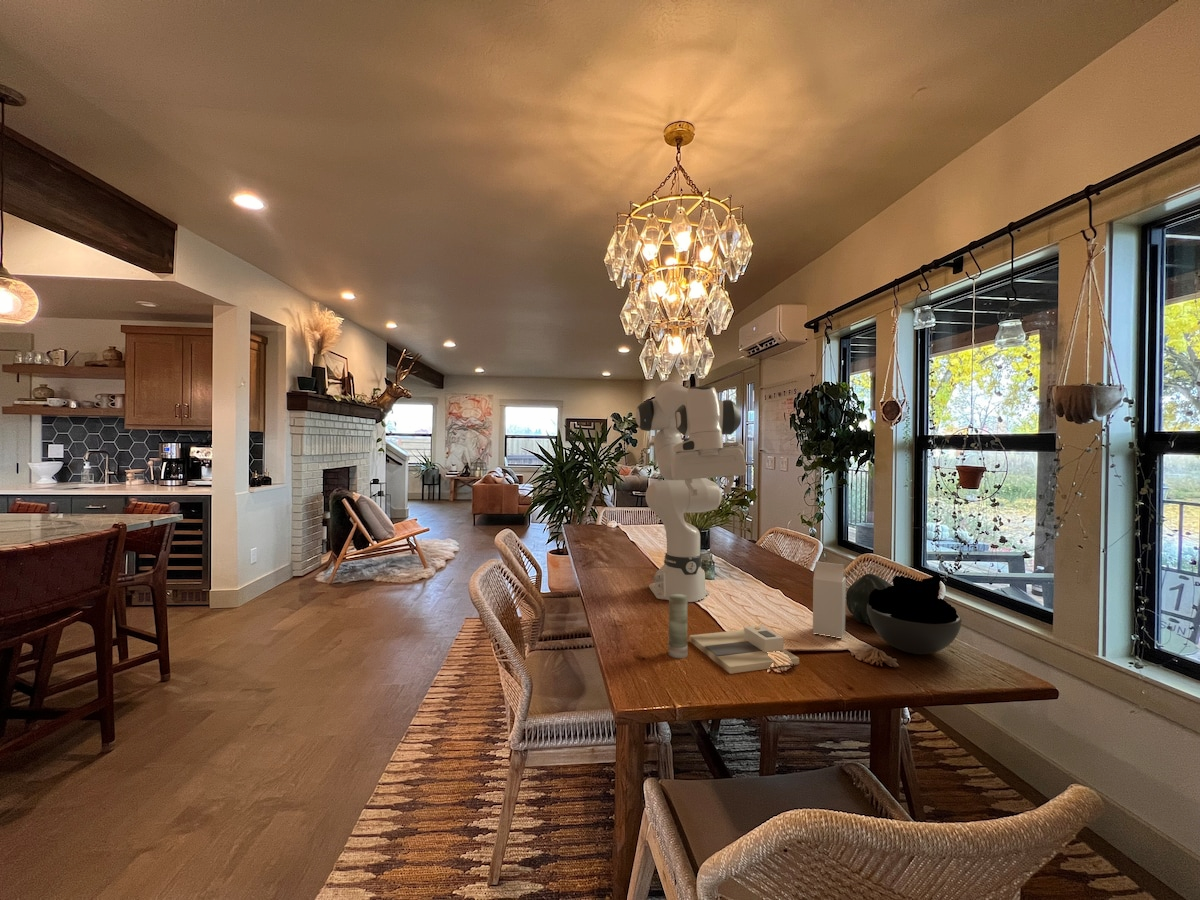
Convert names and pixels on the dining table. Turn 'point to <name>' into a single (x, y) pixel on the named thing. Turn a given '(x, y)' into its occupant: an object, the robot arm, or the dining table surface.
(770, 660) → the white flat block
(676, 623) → the green cylinder
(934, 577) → the heaped grey bowl
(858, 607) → the squash
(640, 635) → the dining table surface
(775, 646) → the block
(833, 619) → the milk carton
